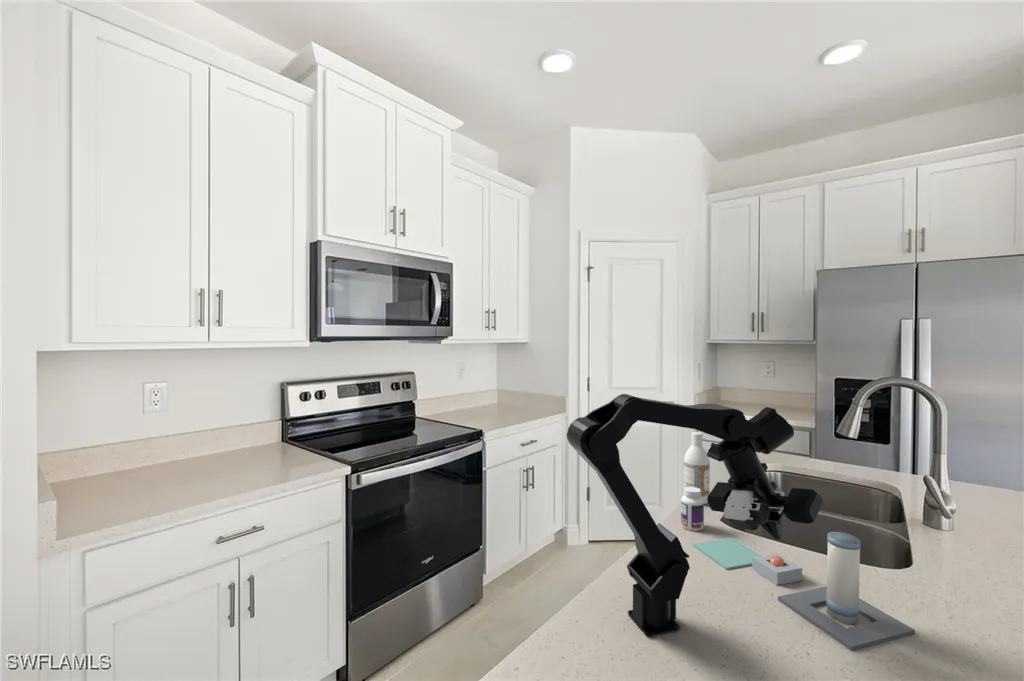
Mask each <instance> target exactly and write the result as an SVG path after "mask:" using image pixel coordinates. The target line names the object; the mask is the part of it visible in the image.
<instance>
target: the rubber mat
mask: <svg viewBox="0 0 1024 681" xmlns="http://www.w3.org/2000/svg"><path fill="white" fill-rule="evenodd" d="M691 546H692V547H694V548H695V549H696V550H698V551H699V552H700V553H702V554H704V555H705V556H707V557H708V558H709V559H711V560H712V561H714V562H715V563H717V565H719V566H720V567H722V568H724V569H725V570H726V571H727V570H732V569H736V568H737V569H738V568H743V567H748V566H752V557H757V556H762V555H761V554H759V553H758V552H756V551H755V550H753V549H752V548H751V549H750V548H749V547H748V546H746V545H745V544H742V542H739V541H738V540H736V539H734V538H733V537H728V538H726V537H725V538H721V539H715V540H709V541H708V540H707V541H703V542H696V543H692V545H691Z"/></svg>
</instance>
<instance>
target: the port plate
mask: <svg viewBox="0 0 1024 681" xmlns="http://www.w3.org/2000/svg"><path fill="white" fill-rule="evenodd" d="M826 596H827V585H825V586H822V587H816V588H812V589H811V588H810V589H808V590H807V589H806V590H803V591H798V592H793V593H789V594H785V595H779V596H777V600H778V601H779V602H780V603H781V604H783V605H785V606H786V607H788V608H789V609H791V610H792V611H793V612H794V613H797V614H798V615H799V616H800V617H802V618H804V619H805V620H807V621H808V622H809V623H811V624H812V625H814V626H815V627H816V628H818V629H820V630H821V631H822V632H824V633H826V634H827V635H828V636H830V637H831V638H832V639H834V640H835V641H837V642H838V643H840V644H841V645H843V646H844V647H846V648H847V649H848V650H850V651H855V650H859V649H861V648H866V647H871V646H874V645H878V644H881V643H885V642H888V641H892V640H895V639H899V638H900V639H901V638H903V637H906V636H910V635H914V634H916V629H914V628H912V627H910V626H909V625H908V624H905V623H904V622H902V621H900V620H899V619H896V618H894V617H893V616H891V615H890V614H889V613H886V612H885V611H883V610H880V609H879V608H877V607H875V606H873V605H871V604H870V603H868V602H866V601H865V600H863V599H862V598H860V597H859V615H861V616H863V617H865V619H868V620H870V622H868V623H867V622H866V623H864V624H859V625H855V626H851V627H848V628H847V627H845V626H843V625H842V624H840V622H838V621H837V620H835V619H833V618H831V617H830V616H829V615H828V614H827V615H826V613H823V612H822V611H820V610H819V609H817V608H816V607H817V606H821V605H826Z"/></svg>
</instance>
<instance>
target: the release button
mask: <svg viewBox="0 0 1024 681" xmlns="http://www.w3.org/2000/svg"><path fill="white" fill-rule="evenodd" d="M770 563H771V564H773V565H774V566H776V567H780V566H783V563H784V560H783V559H782V558H781V557H778V556H771V557H770Z"/></svg>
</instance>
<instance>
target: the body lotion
mask: <svg viewBox="0 0 1024 681" xmlns="http://www.w3.org/2000/svg"><path fill="white" fill-rule="evenodd" d="M707 452H708V451H706V450H705V448H704V446H703V432H701V431H693V432H691V445H690V446H689V448H688V449H687V450H686V452H685V454H684V460H683V489H684V488H685V487H696V488H699V489H700V490H701V496H700V497H701V498H702V499H703V501H704V505H707V504H708V502H707V497H708V495H709V494H710V492H711V491H710V486H711V484H710V483H711V482H710V478H711V475H710V472H711V468H710V467H711V466H710V464H711V462H710V457H708V456H707Z"/></svg>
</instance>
